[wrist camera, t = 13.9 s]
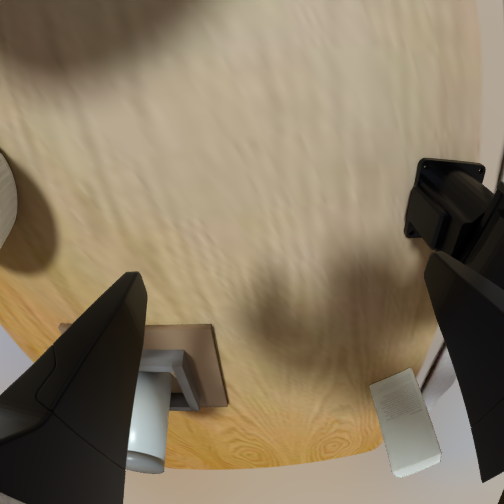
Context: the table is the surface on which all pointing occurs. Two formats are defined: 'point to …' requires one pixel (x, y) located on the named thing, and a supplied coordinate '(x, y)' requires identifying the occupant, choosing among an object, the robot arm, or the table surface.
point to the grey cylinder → (149, 423)
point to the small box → (405, 424)
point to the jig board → (184, 364)
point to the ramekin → (7, 200)
